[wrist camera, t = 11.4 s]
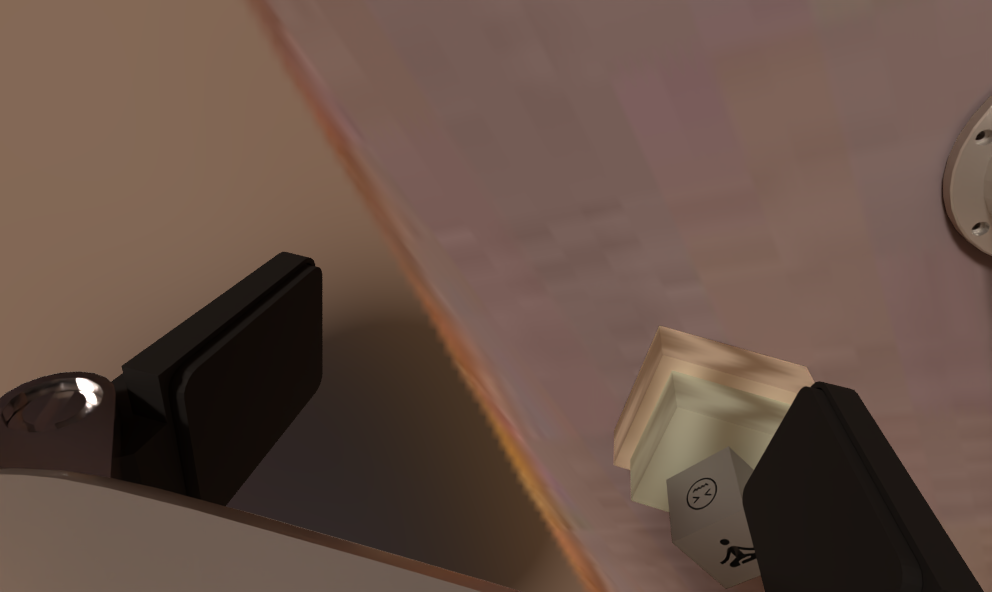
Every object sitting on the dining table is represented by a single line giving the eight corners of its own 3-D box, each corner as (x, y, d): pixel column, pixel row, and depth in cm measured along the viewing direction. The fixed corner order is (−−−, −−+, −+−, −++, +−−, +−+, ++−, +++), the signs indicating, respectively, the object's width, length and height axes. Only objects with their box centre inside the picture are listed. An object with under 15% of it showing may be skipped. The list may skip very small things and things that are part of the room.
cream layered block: (806, 366, 39) (845, 442, 32) (742, 468, 45) (764, 552, 38) (659, 325, 40) (667, 390, 33) (614, 430, 46) (613, 505, 39)
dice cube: (714, 522, 37) (726, 588, 33) (666, 480, 36) (672, 542, 32) (778, 492, 35) (800, 559, 31) (728, 446, 34) (744, 508, 30)
